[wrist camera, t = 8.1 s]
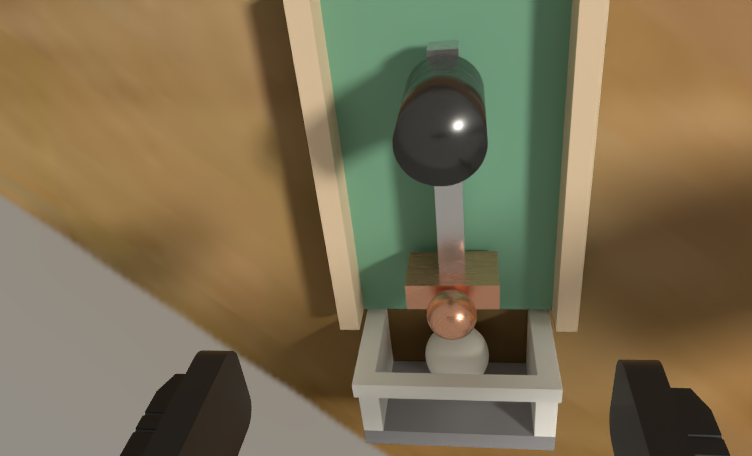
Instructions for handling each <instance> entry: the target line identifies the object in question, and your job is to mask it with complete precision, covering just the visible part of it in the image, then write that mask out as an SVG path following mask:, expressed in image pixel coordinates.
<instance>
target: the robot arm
mask: <svg viewBox="0 0 752 456" xmlns="http://www.w3.org/2000/svg"><path fill="white" fill-rule="evenodd" d="M250 419H251V399H250V395H249V392H248V389H247V385H246V382H245V379H244V375H243V372H242V369H241V365H240V362H239V359H238V356H237V354H236V353H235V352H234V351H200V352H198V353H197V354H196V356H195V357H194V359H193V361H192V363H191V365H190V367H189V368H188V371H187V372H186V374H175V375H174V376H173V377H172V378H171V379H170V380H169V381H167V382H166V383H165V384H164V385H163V386H162V387H161V388H160V389H159V390H158V391H157V392H156V394H155V395H154V397H153V399H152V401H151V402H150V404H149V406H148V408H147V409H146V411H145V416H142V418H141V420H140V421H139V423H138V425H137V427H136V431H135V432H134V433H133V434H132V436H131V437H130V439H129V441H128V442H127V444H126V446H125V448H124V449H123V451H122V453H121V455H120V456H238V454H239V451H240V448H241V445H242V443H243V441H244V438H245V435H246V433H247V430H248V427H249V424H250ZM610 435H611V442H612V446H613V451H614V455H615V456H730V454H729V451H728V449H727V446H726V444H725V442H724V440H723V439H722V437H721V432H720V430H719V427H718V425H717V423H716V420H715V418H714V416H713V413H712V411H711V409H710V408H709V407H708V406H707V405H706V404H705V403H704V402H703V401H702V400H701V399H700V398H699V397H698V396H697V395H696V394H695V393H694V392H693V390H692V389H691V388H670V385H669V382H668V380H667V377H666V374H665V371H664V369H663V366H662V364H661V362H660V361H658V360H618V362H617V365H616V372H615V379H614V386H613V393H612V400H611V407H610Z"/></svg>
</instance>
